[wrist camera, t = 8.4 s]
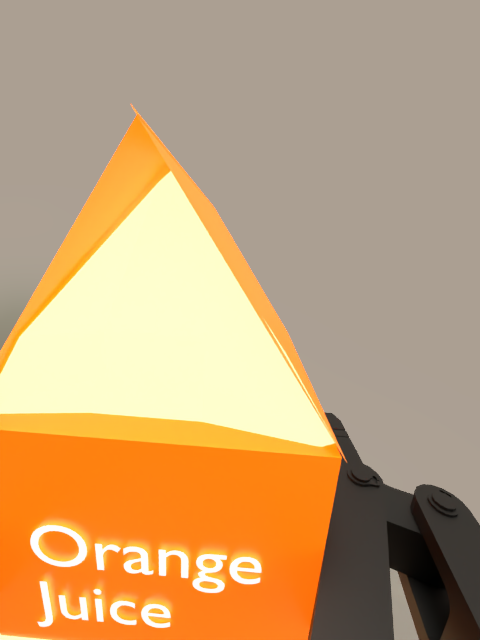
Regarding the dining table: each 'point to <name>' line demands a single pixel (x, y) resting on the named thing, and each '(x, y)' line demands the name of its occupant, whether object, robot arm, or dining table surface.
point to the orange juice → (157, 431)
